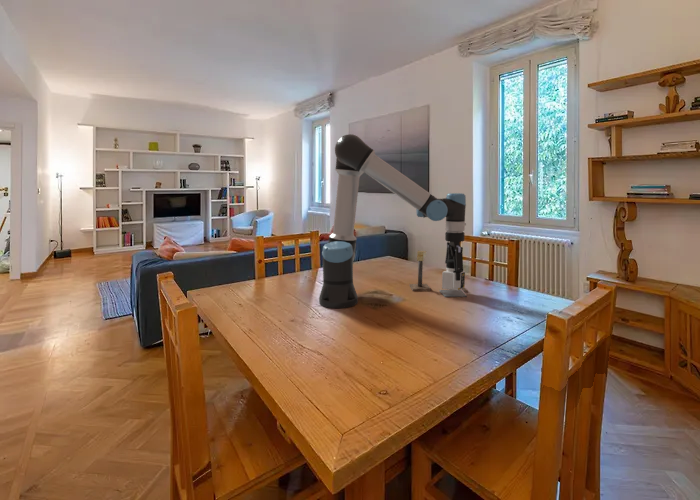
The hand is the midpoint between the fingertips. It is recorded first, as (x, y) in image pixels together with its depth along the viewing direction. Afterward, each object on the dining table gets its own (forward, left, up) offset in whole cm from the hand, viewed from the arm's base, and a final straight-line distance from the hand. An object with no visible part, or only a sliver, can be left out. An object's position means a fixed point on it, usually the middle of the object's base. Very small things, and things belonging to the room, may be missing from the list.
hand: (453, 284), depth 159 cm
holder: (-5, +9, -4) cm, 11 cm away
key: (-11, +12, +9) cm, 19 cm away
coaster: (0, 0, -4) cm, 4 cm away
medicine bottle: (0, 0, -2) cm, 2 cm away
